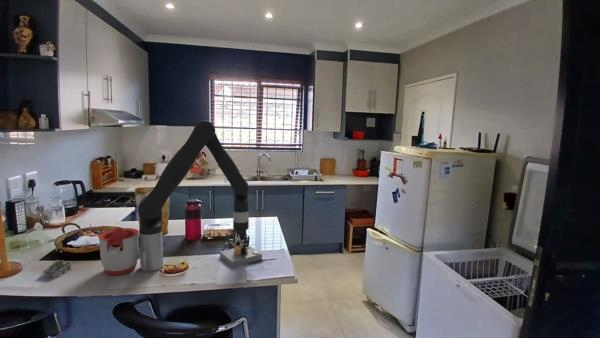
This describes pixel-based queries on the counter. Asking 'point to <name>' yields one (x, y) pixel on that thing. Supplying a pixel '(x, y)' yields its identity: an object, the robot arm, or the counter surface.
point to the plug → (239, 250)
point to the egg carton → (54, 270)
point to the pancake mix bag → (145, 191)
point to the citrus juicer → (119, 250)
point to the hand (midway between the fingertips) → (240, 252)
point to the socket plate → (240, 257)
